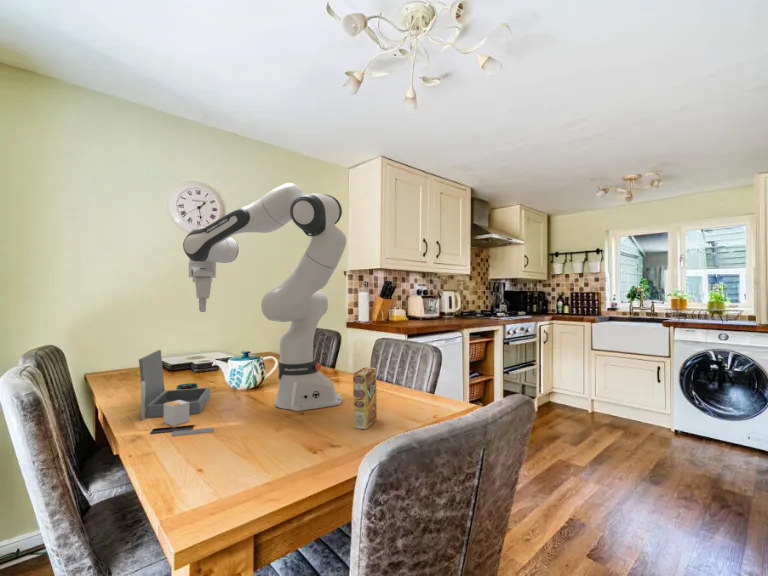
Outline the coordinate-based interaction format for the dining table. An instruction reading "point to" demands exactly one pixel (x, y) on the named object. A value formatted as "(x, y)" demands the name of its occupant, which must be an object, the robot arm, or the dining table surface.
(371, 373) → the candy box
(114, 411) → the dining table surface
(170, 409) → the block
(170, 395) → the case
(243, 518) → the dining table surface
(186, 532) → the dining table surface
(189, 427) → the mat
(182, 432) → the rod
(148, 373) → the lid
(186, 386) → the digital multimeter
